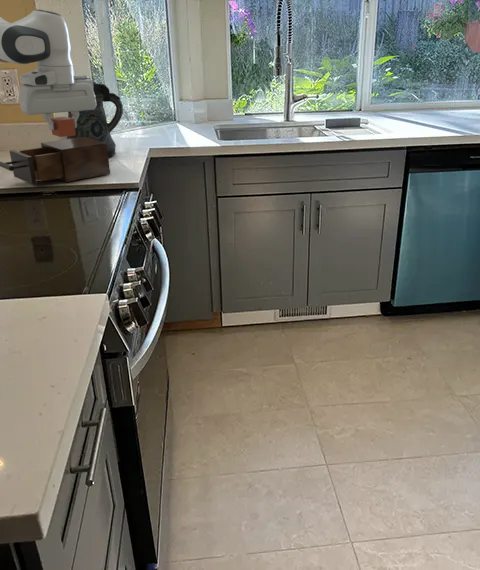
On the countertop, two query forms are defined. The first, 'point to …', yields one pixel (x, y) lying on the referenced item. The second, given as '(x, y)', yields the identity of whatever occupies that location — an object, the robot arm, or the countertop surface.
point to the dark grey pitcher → (99, 118)
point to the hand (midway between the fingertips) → (63, 128)
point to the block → (63, 126)
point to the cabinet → (81, 157)
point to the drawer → (35, 164)
